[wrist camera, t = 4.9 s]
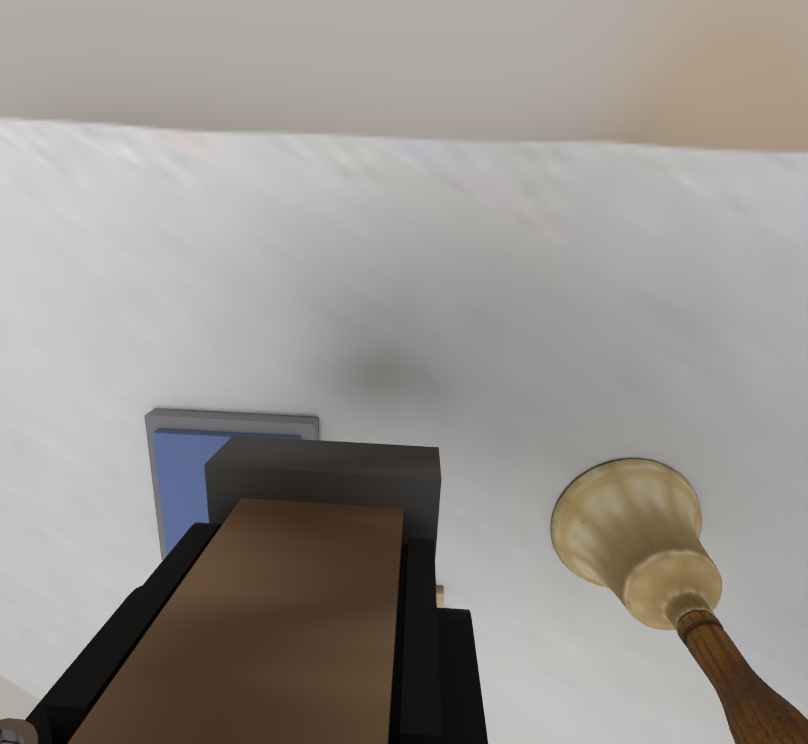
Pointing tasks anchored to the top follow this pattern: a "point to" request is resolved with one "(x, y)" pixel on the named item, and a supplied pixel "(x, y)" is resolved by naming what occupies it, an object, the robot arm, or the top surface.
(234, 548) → the stamp
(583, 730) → the top surface
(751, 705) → the hand bell
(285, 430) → the ink pad
